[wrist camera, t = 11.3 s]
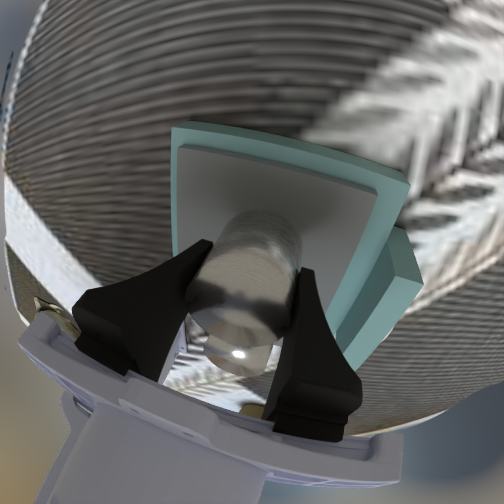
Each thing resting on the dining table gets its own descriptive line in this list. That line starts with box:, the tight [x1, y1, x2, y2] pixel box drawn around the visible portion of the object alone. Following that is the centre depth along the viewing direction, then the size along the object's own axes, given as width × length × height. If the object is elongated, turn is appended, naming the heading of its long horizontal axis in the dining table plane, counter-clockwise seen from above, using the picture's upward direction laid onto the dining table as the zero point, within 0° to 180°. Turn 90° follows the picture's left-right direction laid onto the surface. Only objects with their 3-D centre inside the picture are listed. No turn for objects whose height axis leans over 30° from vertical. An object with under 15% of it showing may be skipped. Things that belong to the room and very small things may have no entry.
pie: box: [34, 297, 81, 340], centre depth 52 cm, size 28×27×5 cm
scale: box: [171, 121, 424, 371], centre depth 19 cm, size 18×17×6 cm
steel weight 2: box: [204, 334, 274, 377], centre depth 20 cm, size 4×4×5 cm
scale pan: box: [177, 144, 378, 347], centre depth 20 cm, size 16×12×1 cm
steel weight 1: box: [185, 210, 303, 347], centre depth 13 cm, size 4×4×5 cm
